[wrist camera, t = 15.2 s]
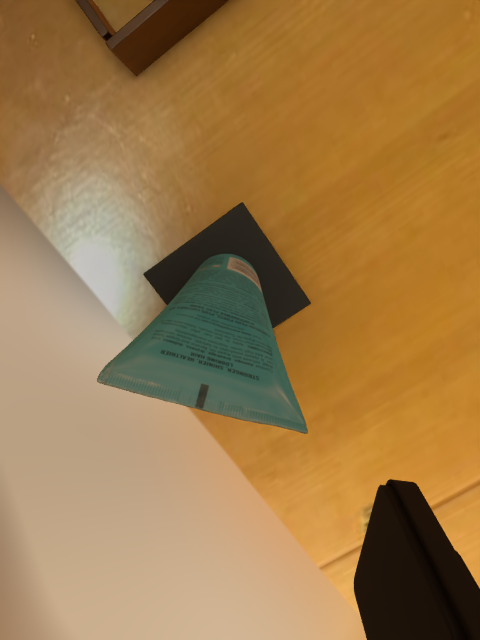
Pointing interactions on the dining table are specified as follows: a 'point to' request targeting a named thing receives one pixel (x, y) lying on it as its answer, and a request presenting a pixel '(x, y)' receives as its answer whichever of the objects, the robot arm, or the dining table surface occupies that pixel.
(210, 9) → the tube holder
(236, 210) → the mat
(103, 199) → the dining table surface
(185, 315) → the tube
